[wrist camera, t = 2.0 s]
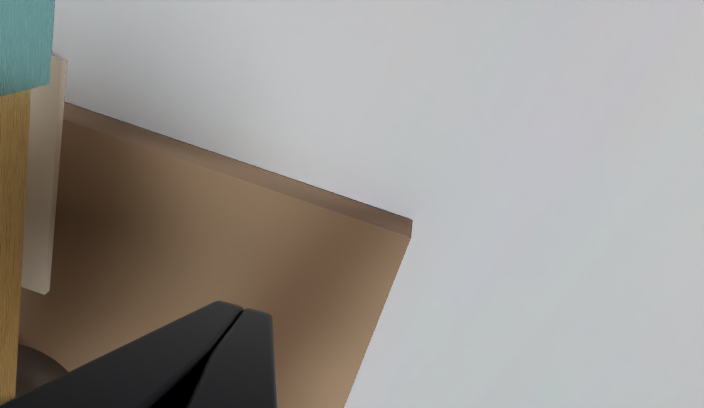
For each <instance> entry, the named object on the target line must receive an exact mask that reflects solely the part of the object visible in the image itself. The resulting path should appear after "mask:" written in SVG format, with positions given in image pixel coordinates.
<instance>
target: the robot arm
mask: <svg viewBox="0 0 704 408" xmlns="http://www.w3.org/2000/svg"><path fill="white" fill-rule="evenodd" d="M0 408H278V396H277V381H276V366H275V351H274V336H273V321H272V316H271V315H270V314H269V313H266V312H262V311H258V310H255V309H251V308H247V309H245V310H244V309H243V307H242V306H239V305H236V304H232V303H228V302H225V301H220V300H219V301H215V302H212V303H210V304H208V305H206V306H204V307H202V308H200V309H198V310H196V311H194V312H192V313H190V314H188V315H186V316H183V317H181V318H179V319H177V320H175V321H173V322H171V323H169V324H167V325H165V326H163V327H161V328H159V329H157V330H155V331H152V332H150V333H148V334H146V335H144V336H142V337H140V338H138V339H136V340H134V341H132V342H130V343H128V344H126V345H124V346H121V347H119V348H117V349H115V350H113V351H111V352H109V353H107V354H105V355H103V356H101V357H99V358H97V359H95V360H93V361H90V362H88V363H86V364H84V365H82V366H80V367H78V368H76V369H74V370H72V371H70V372H68V373H66V374H64V375H61V376H59V377H57V378H55V379H53V380H51V381H49V382H47V383H45V384H43V385H41V386H39V387H37V388H35V389H33V390H30V391H28V392H26V393H24V394H22V395H20V396H18V397H16V398H14V399H12V400H10V401H8V402H6V403H4V404H2V405H0Z"/></svg>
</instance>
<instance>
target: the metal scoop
mask: <svg viewBox="0 0 704 408" xmlns="http://www.w3.org/2000/svg"><path fill="white" fill-rule="evenodd" d="M54 8H55V0H0V405H2V404H4V403H6V402H8V401H10V400H12V399H14V398H16V397H18V396H17V395H16V394H15V392H16V373H17V354H18V335H19V316H20V297H21V278H22V259H23V240H24V221H25V202H26V183H27V164H28V145H29V126H30V107H31V89H33V88H37V87H41V86H45V85H48V84H50V68H51V53H52V38H53V23H54Z"/></svg>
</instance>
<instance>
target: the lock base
mask: <svg viewBox="0 0 704 408" xmlns="http://www.w3.org/2000/svg"><path fill="white" fill-rule="evenodd" d="M67 62H68V61H67V60H64V59H61V58H58V57H55V56H52V55H51V68H50V84H48V85H45V86H41V87H37V88H33V89H31V107H30V126H29V145H28V164H27V183H26V202H25V221H24V240H23V259H22V278H21V297H20V316H19V335H18V354H17V373H16V392H15V394H16V395H17V396H20V395H22V394H24V393H26V392H28V391H30V390H33V389H35V388H37V387H39V386H41V385H43V384H45V383H47V382H49V381H51V380H53V379H55V378H57V377H59V376H61V375H64V374H66V373H68V372H70V371H72V370H74V369H76V368H78V367H80V366H82V365H84V364H86V363H88V362H90V361H93V360H95V359H97V358H99V357H101V356H103V355H105V354H107V353H109V352H111V351H113V350H115V349H117V348H119V347H121V346H124V345H126V344H128V343H130V342H132V341H134V340H136V339H138V338H140V337H142V336H144V335H146V334H148V333H150V332H152V331H155V330H157V329H159V328H161V327H163V326H165V325H167V324H169V323H171V322H173V321H175V320H177V319H179V318H181V317H183V316H186V315H188V314H190V313H192V312H194V311H196V310H198V309H200V308H202V307H204V306H206V305H208V304H210V303H212V302H215V301H219V300H220V301H225V302H228V303H232V304H236V305H239V306H242V307H243V309H244V310H245V309H247V308H251V309H255V310H258V311H262V312H266V313H269V314H270V315H271V316H272V321H273V336H274V351H275V366H276V381H277V396H278V408H344V406H345V403H346V401H347V398H348V396H349V393H350V391H351V388H352V385H353V383H354V380H355V378H356V375H357V373H358V370H359V368H360V365H361V363H362V360H363V358H364V355H365V353H366V350H367V347H368V345H369V342H370V340H371V337H372V335H373V332H374V330H375V327H376V325H377V322H378V320H379V317H380V315H381V312H382V310H383V307H384V304H385V302H386V299H387V297H388V294H389V292H390V289H391V287H392V284H393V282H394V279H395V277H396V274H397V272H398V269H399V266H400V264H401V261H402V259H403V256H404V254H405V251H406V249H407V246H408V244H409V241H410V239H411V232H412V221H413V220H411V219H408V218H405V217H402V216H399V215H396V214H393V213H390V212H387V211H384V210H381V209H378V208H375V207H372V206H369V205H367V204H364V203H361V202H358V201H355V200H352V199H349V198H346V197H343V196H340V195H337V194H334V193H331V192H328V191H325V190H322V189H319V188H316V187H314V186H311V185H308V184H305V183H302V182H299V181H296V180H293V179H290V178H287V177H284V176H281V175H278V174H275V173H272V172H269V171H266V170H263V169H261V168H258V167H255V166H252V165H249V164H246V163H243V162H240V161H237V160H234V159H231V158H228V157H225V156H222V155H219V154H216V153H213V152H210V151H208V150H205V149H202V148H199V147H196V146H193V145H190V144H187V143H184V142H181V141H178V140H175V139H172V138H169V137H166V136H163V135H160V134H157V133H155V132H152V131H149V130H146V129H143V128H140V127H137V126H134V125H131V124H128V123H125V122H122V121H119V120H116V119H113V118H110V117H107V116H104V115H102V114H99V113H96V112H93V111H90V110H87V109H84V108H81V107H78V106H75V105H72V104H69V103H66V102H64V100H65V87H66V75H67Z"/></svg>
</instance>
